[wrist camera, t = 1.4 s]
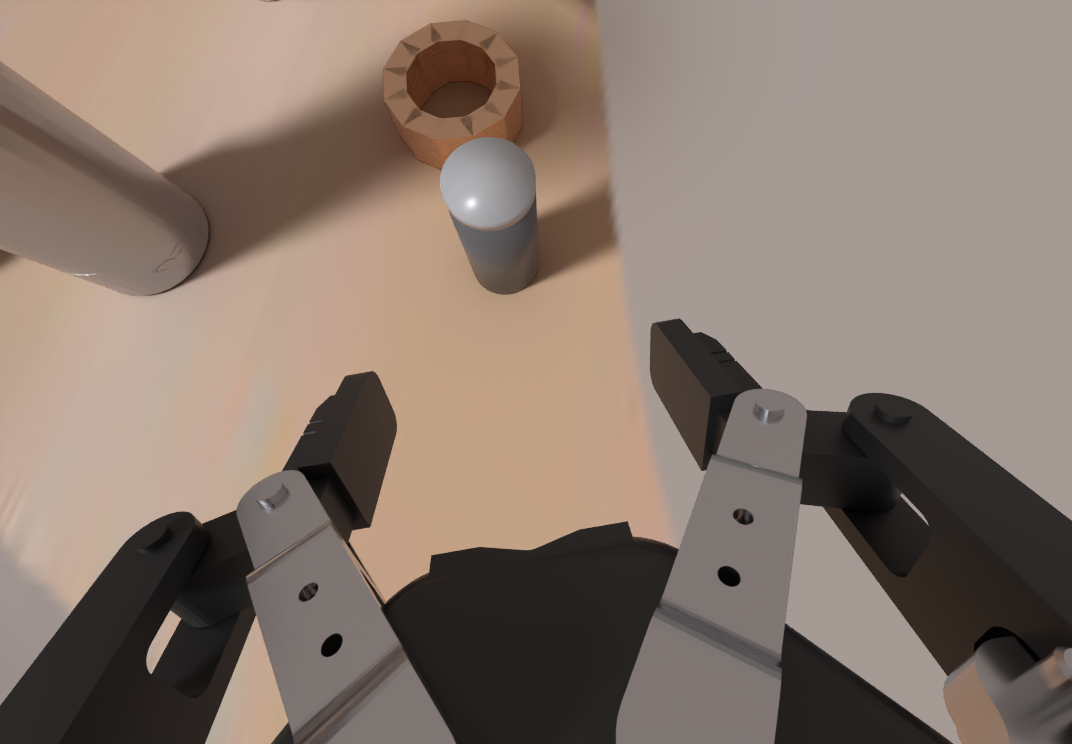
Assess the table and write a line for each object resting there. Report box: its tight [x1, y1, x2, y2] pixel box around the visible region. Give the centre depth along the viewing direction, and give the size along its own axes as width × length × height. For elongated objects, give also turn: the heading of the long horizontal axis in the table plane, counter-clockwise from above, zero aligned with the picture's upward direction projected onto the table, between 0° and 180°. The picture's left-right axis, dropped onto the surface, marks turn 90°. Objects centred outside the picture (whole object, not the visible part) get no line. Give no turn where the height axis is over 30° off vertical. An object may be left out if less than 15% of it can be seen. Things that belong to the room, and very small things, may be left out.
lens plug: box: [440, 137, 538, 295], centre depth 26 cm, size 5×5×10 cm
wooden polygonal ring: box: [383, 20, 523, 170], centre depth 32 cm, size 10×10×4 cm
